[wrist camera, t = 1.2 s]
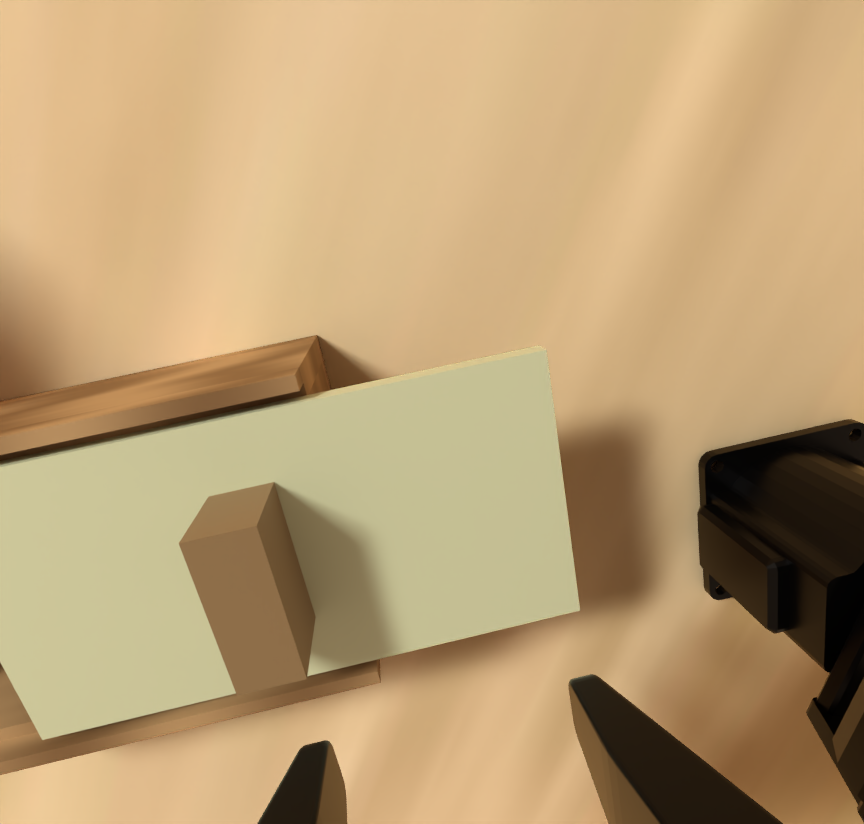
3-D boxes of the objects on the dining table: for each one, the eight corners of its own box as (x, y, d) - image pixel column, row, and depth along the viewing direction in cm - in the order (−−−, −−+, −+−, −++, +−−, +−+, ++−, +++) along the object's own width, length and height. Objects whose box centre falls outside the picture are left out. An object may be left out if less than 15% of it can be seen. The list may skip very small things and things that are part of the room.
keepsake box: (317, 335, 18) (295, 374, 13) (376, 566, 21) (380, 682, 15) (-185, 439, 17) (-444, 531, 12) (-53, 666, 20) (-214, 826, 14)
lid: (538, 345, 14) (580, 369, 11) (572, 597, 16) (613, 667, 13) (-74, 477, 13) (-189, 537, 10) (54, 721, 15) (-12, 822, 13)
